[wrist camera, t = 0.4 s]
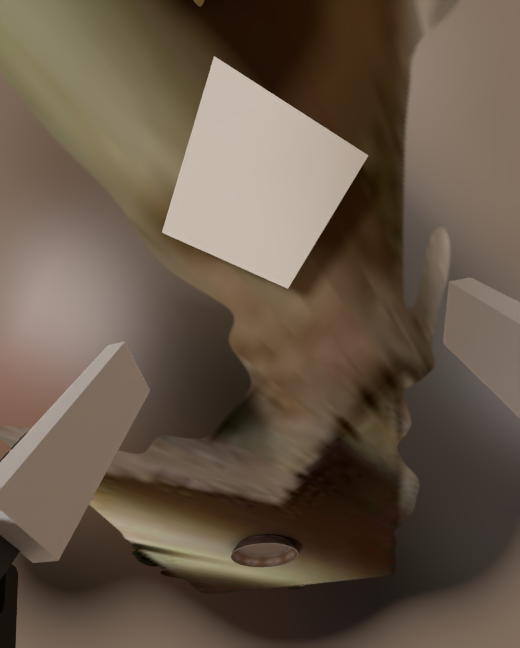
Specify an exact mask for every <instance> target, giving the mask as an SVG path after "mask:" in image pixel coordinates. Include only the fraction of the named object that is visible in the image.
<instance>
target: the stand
mask: <svg viewBox="0 0 520 648" xmlns="http://www.w3.org/2000/svg"><path fill="white" fill-rule="evenodd" d="M367 157H368V155H367V154H365V153H364V152H362V151H360V150H359V149H357V148H356V147H354V146H353V145H351V144H350V143H348V142H347V141H345V140H343V139H342V138H340V137H339V136H337V135H336V134H334V133H333V132H331V131H329V130H328V129H326V128H325V127H323V126H322V125H320V124H319V123H317V122H315V121H314V120H312V119H311V118H309V117H308V116H306V115H305V114H303V113H301V112H300V111H298V110H297V109H295V108H294V107H292V106H291V105H289V104H288V103H286V102H284V101H283V100H281V99H280V98H278V97H277V96H275V95H274V94H272V93H270V92H269V91H267V90H266V89H264V88H263V87H261V86H260V85H258V84H256V83H255V82H253V81H252V80H250V79H249V78H247V77H246V76H244V75H243V74H241V73H239V72H238V71H236V70H235V69H233V68H232V67H230V66H229V65H227V64H225V63H224V62H222V61H221V60H219V59H218V58H216V57H215V56H214V59H213V62H212V65H211V69H210V72H209V76H208V79H207V82H206V86H205V89H204V92H203V96H202V99H201V103H200V106H199V109H198V113H197V116H196V119H195V123H194V126H193V130H192V133H191V136H190V140H189V143H188V146H187V150H186V153H185V157H184V160H183V163H182V167H181V170H180V173H179V177H178V180H177V183H176V187H175V190H174V194H173V197H172V200H171V204H170V207H169V210H168V214H167V217H166V221H165V224H164V227H163V231H162V233H164V234H166V235H169V236H171V237H173V238H175V239H178V240H180V241H182V242H184V243H187V244H189V245H191V246H193V247H195V248H198V249H200V250H202V251H204V252H207V253H209V254H211V255H213V256H216V257H218V258H220V259H222V260H225V261H227V262H229V263H231V264H234V265H236V266H238V267H240V268H242V269H245V270H247V271H249V272H251V273H254V274H256V275H258V276H260V277H263V278H265V279H267V280H269V281H272V282H274V283H276V284H278V285H281V286H283V287H285V288H287V289H288V288H289V286H290V285H291V283H292V281H293V280H294V278H295V276H296V275H297V273H298V271H299V270H300V268H301V266H302V265H303V263H304V261H305V260H306V258H307V256H308V255H309V253H310V251H311V250H312V248H313V246H314V245H315V243H316V241H317V240H318V238H319V237H320V235H321V233H322V232H323V230H324V228H325V227H326V225H327V223H328V222H329V220H330V218H331V217H332V215H333V213H334V212H335V210H336V208H337V207H338V205H339V203H340V202H341V200H342V198H343V197H344V195H345V194H346V192H347V190H348V189H349V187H350V185H351V184H352V182H353V180H354V179H355V177H356V175H357V174H358V172H359V170H360V169H361V167H362V165H363V164H364V162H365V160H366V159H367Z"/></svg>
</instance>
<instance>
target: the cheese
mask: <svg viewBox="0 0 520 648" xmlns="http://www.w3.org/2000/svg"><path fill="white" fill-rule="evenodd" d="M193 1H194V2H195V3H196V4H197V5H198V6H199V7H201V6H202V5H203V3H204V1H205V0H193Z"/></svg>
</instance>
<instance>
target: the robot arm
mask: <svg viewBox="0 0 520 648" xmlns="http://www.w3.org/2000/svg"><path fill="white" fill-rule="evenodd" d="M443 344H444V345H445V346H446V347H447V348H448V349H449V350H450V351H451V352H452V353H453V354H454V355H455V356H457V357H458V358H459V359H460V360H461V361H462V362H463V363H464V364H465V365H466V366H467V367H468V368H469V369H470V370H471V371H472V372H473V373H474V374H475V375H476V376H477V377H478V378H479V379H480V380H481V381H482V382H483V383H484V384H485V385H486V386H487V387H488V388H489V389H490V390H492V392H494V394H496V395H497V396H498V397H499V398H500V399H501V400H502V401H503V402H504V403H505V404H506V405H507V406H508V407H509V408H510V409H511V410H512V411H513V412H514V413H515V414H516V415H517V416H518V417H519V418H520V302H518V301H516V300H514V299H512V298H510V297H508V296H506V295H504V294H502V293H500V292H498V291H496V290H494V289H492V288H490V287H489V286H487V285H485V284H483V283H481V282H479V281H477V280H475V279H473V278H465V279H460V280H455V281H449V287H448V297H447V307H446V317H445V327H444V337H443ZM149 392H150V389H149V387H148V385H147V383H146V382H145V380H144V378H143V376H142V374H141V372H140V370H139V368H138V366H137V364H136V362H135V361H134V359H133V357H132V355H131V353H130V351H129V349H128V347H127V345H126V343H125V342H121V343H116V344H110V345H108V346H107V347H106V348H105V349H104V350H103V351H102V353H101V354H100V355H99V356H98V357H97V358H96V359H95V360H94V361H93V362H92V363H91V364H90V365H89V367H88V368H87V369H86V370H85V371H84V372H83V373H82V374H81V375H80V376H79V377H78V378H77V380H76V381H75V382H74V383H73V384H72V385H71V386H70V387H69V388H68V389H67V390H66V391H65V393H64V394H63V395H62V396H61V397H60V398H59V399H58V400H57V401H56V402H55V403H54V405H53V406H52V407H51V408H50V409H49V410H48V411H47V412H46V413H45V414H44V415H43V416H42V417H41V419H40V420H39V421H38V422H37V423H36V424H35V425H34V426H33V427H32V428H31V429H30V430H29V431H28V432H27V433H25V434H24V435H23V436H22V437H21V438H20V440H19V441H18V442H17V443H16V444H15V445H14V446H13V447H12V448H11V451H9V452H8V453H7V454H6V455H5V456H4V457H3V458H2V459H1V460H0V648H15V643H16V616H17V615H16V614H17V587H18V572H17V569H16V567H15V566H13V565H12V562H13V561H14V559H15V558H16V556H17V555H18V553H19V552H21V553H22V554H23V555H24V556H25V557H27V558H28V559H29V560H30V561H32V562H33V563H36V562H47V561H58V560H59V559H60V557H61V555H62V553H63V551H64V549H65V547H66V546H67V544H68V542H69V540H70V538H71V536H72V534H73V532H74V531H75V529H76V527H77V525H78V523H79V521H80V519H81V518H82V516H83V514H84V512H85V510H86V508H87V507H88V505H89V503H90V501H91V499H92V497H93V495H94V494H95V492H96V490H97V488H98V486H99V484H100V482H101V481H102V479H103V477H104V475H105V473H106V471H107V469H108V468H109V466H110V464H111V462H112V460H113V458H114V456H115V455H116V453H117V451H118V449H119V447H120V445H121V443H122V442H123V440H124V438H125V436H126V434H127V432H128V430H129V429H130V427H131V425H132V423H133V421H134V419H135V417H136V416H137V414H138V412H139V410H140V408H141V406H142V404H143V402H144V401H145V399H146V397H147V395H148V393H149Z"/></svg>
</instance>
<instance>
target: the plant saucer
mask: <svg viewBox="0 0 520 648" xmlns="http://www.w3.org/2000/svg"><path fill="white" fill-rule="evenodd" d="M297 556H298V551H297V549H296V548H295V546H294V545H293V544H292V543H291V542H290V541H289V540H288V539H286V538H284V537H281V536H277V535H256V536H252V537H248V538H246V539H244V540H242V541H241V542H240V543H239V544H238V545H237V546H236V547H235V549H234V550H233V552H232V554H231V559H232V560H233V561H234V562H236V563H238V564H240V565H244V566H250V567H272V566H278V565H283V564H286V563H289V562H291V561H293V560H294V559H296V558H297Z"/></svg>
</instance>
